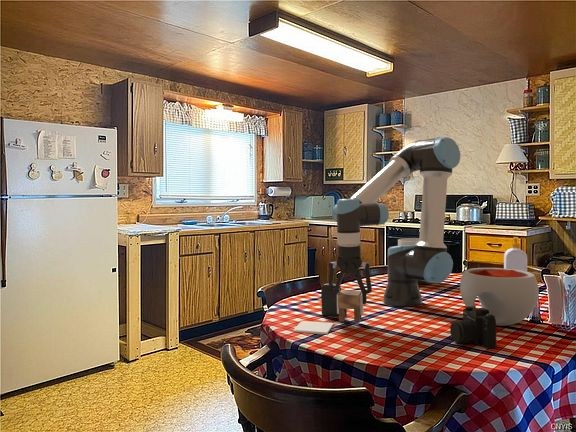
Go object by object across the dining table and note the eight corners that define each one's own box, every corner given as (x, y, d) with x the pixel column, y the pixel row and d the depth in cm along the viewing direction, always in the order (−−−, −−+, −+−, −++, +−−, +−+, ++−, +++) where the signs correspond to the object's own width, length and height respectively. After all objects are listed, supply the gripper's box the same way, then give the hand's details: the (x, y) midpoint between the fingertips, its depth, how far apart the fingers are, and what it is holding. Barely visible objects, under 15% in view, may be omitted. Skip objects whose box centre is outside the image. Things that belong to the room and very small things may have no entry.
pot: (555, 331, 143) (555, 274, 143) (481, 333, 142) (481, 276, 141) (511, 312, 167) (512, 263, 167) (448, 314, 165) (448, 265, 165)
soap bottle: (524, 284, 219) (524, 236, 218) (527, 287, 212) (527, 238, 211) (503, 283, 221) (503, 236, 220) (505, 286, 215) (506, 237, 214)
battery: (342, 314, 166) (342, 283, 166) (339, 317, 163) (338, 285, 162) (324, 312, 169) (324, 282, 169) (320, 315, 166) (320, 283, 165)
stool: (362, 316, 156) (361, 290, 156) (359, 322, 149) (359, 295, 149) (341, 316, 158) (341, 290, 157) (338, 321, 151) (337, 294, 151)
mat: (333, 324, 153) (333, 323, 153) (327, 334, 143) (327, 332, 143) (301, 322, 156) (301, 320, 156) (293, 331, 146) (293, 329, 146)
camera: (441, 335, 141) (442, 303, 140) (474, 334, 142) (475, 302, 141) (463, 350, 127) (464, 314, 126) (500, 348, 128) (500, 313, 128)
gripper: (380, 243, 153) (381, 311, 154) (321, 243, 159) (323, 309, 160) (378, 246, 146) (379, 317, 147) (317, 246, 151) (318, 314, 153)
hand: (350, 313), depth 154 cm, fingers closed on stool, 7 cm apart
